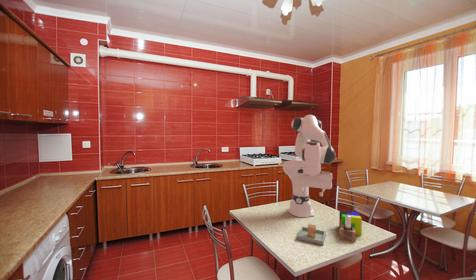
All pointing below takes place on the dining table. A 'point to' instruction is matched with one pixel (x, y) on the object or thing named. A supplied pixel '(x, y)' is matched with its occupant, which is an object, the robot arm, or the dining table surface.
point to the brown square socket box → (348, 233)
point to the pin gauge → (348, 222)
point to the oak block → (311, 231)
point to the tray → (304, 237)
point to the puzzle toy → (352, 220)
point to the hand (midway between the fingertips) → (312, 194)
